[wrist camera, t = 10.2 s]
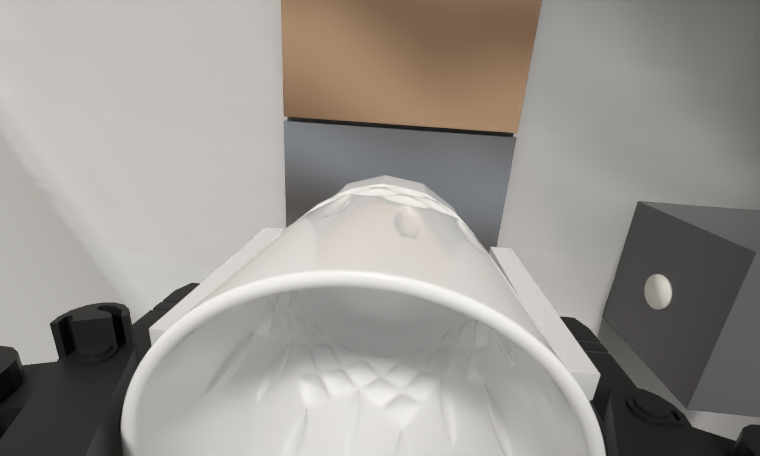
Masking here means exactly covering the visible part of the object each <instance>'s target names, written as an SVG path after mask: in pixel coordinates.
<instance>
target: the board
mask: <svg viewBox="0 0 760 456" xmlns="http://www.w3.org/2000/svg"><path fill="white" fill-rule="evenodd" d="M541 2H542V0H281V11H282V55H283V100H284V116H286V117H300V118H314V119H328V120H342V121H356V122H370V123H384V124H398V125H412V126H426V127H440V128H454V129H468V130H482V131H496V132H510V133H517V132H518V127H519V121H520V116H521V110H522V105H523V100H524V94H525V89H526V83H527V78H528V72H529V67H530V61H531V56H532V51H533V45H534V40H535V34H536V29H537V23H538V18H539V13H540V7H541ZM515 143H516V138H515V137H509V136H495V135H481V134H467V133H453V132H439V131H425V130H411V129H397V128H383V127H370V126H356V125H342V124H328V123H314V122H300V121H284V144H285V189H286V228H287V227H288V226H290V225H291V224H293V223H294V222H295V221H296V220H298V219H299V218H300V217H301V216H303V215H304V214H306V213H307V212H308V211H310V210H311V209H312V208H313V207H315V206H316V205H317V204H319V203H321V202H323V201H325V200H327V199H329V198H331V197H332V196H333V195H334V194H336V193H337V192H338V191H339V190H340V189H342V188H343V187H344V186H345V185H347V184H348V183H352V182H357V181H361V180H365V179H370V178H374V177H379V176H383V175H388V176H392V177H397V178H401V179H405V180H410V181H414V182H419V183H423V184H424V185H426V186H427V187H428V188H429V189H431V190H432V191H433V192H434V193H436V194H437V195H438V196H439V197H441V198H442V199H443V200H444V201H446V202H447V203H448V204H449V205H451V206H452V207H453V208H454V210H455V211H456V213H457V215H458V216H459V217H460V218H461V219H462V220H463V221H464V223H465V224H466V225H467V226H468V227H469V228H470V229H471V231H472V232H473V233H474V235H475V236H476V238H477V239H478V240H479V242H480V243H481V244H482V245H483V247H484V248H485V249H486V250H487V252H488V253H489V252H490V247H496V246H497V241H498V235H499V230H500V224H501V219H502V214H503V208H504V203H505V197H506V192H507V186H508V181H509V176H510V170H511V165H512V159H513V154H514V148H515Z"/></svg>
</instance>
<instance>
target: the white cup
mask: <svg viewBox="0 0 760 456" xmlns="http://www.w3.org/2000/svg"><path fill="white" fill-rule="evenodd" d="M121 448H122V455H123V456H606V452H605V446H604V441H603V437H602V433H601V430H600V426H599V423H598V421H597V418H596V416H595V413H594V411H593V409H592V407H591V404H590V402H589V401H588V399H587V397H586V395H585V393H584V392H583V390H582V388H581V387H580V385H579V384H578V382H577V381H576V379H575V378H574V376H573V375H572V374H571V372H570V371H569V369H568V368H567V366H566V365H565V364H564V362H563V361H562V359H561V358H560V356H559V355H558V354H557V352H556V351H555V349H554V348H553V346H552V345H551V343H550V342H549V341H548V339H547V338H546V336H545V335H544V333H543V332H542V330H541V329H540V328H539V326H538V325H537V323H536V322H535V320H534V319H533V317H532V316H531V314H530V313H529V311H528V310H527V308H526V307H525V306H524V304H523V303H522V301H521V300H520V298H519V297H518V295H517V294H516V292H515V291H514V289H513V288H512V286H511V285H510V283H509V282H508V280H507V279H506V277H505V276H504V274H503V273H502V271H501V270H500V268H499V267H498V266H497V264H496V263H495V261H494V260H493V258H492V257H491V256H490V254H489V253H488V252H487V250H486V249H485V248H484V247H483V245H482V244H481V243H480V242H479V240H478V239H477V238H476V236H475V235H474V233H473V232H472V231H471V229H470V228H469V227H468V226H467V225H466V224H465V223H464V221H463V220H462V219H461V218H460V217H459V216H458V215H457V213H456V211H455V210H454V208H453V207H452V206H451V205H449V204H448V203H447V202H446V201H444V200H443V199H442V198H441V197H439V196H438V195H437V194H436V193H434V192H433V191H432V190H431V189H429V188H428V187H427V186H426V185H424V184H423V183H419V182H414V181H410V180H405V179H401V178H397V177H392V176H388V175H383V176H379V177H374V178H370V179H365V180H361V181H357V182H352V183H348V184H347V185H345V186H344V187H343V188H342V189H340V190H339V191H338V192H337V193H336V194H334V195H333V196H332V197H331V198H329V199H327V200H325V201H323V202H321V203H319V204H317V205H316V206H315V207H313V208H312V209H311V210H310V211H308V212H307V213H306V214H304V215H303V216H301V217H300V218H299V219H298V220H296V221H295V222H294V223H293V224H291V225H290V226H288V227H287V228H286V229H284V230H283V231H282V232H281V233H279V234H278V235H277V236H276V237H275V238H274V239H272V240H271V241H270V242H269V243H268V244H267V245H266V246H265V247H264V248H263V249H261V250H260V251H259V252H258V253H257V254H256V255H255V256H253V257H252V258H251V259H250V260H249V261H248V262H246V263H245V264H244V265H243V266H242V267H241V268H239V269H238V270H237V271H235V272H234V273H233V274H232V275H231V276H229V277H228V278H227V279H226V280H225V281H224V282H222V283H221V284H220V285H219V286H218V287H217V288H215V289H214V290H213V291H212V292H211V293H210V294H208V295H207V296H206V297H205V298H204V299H202V300H201V301H200V302H199V303H198V304H197V305H195V306H194V307H193V308H192V309H191V310H189V311H188V312H187V313H186V314H185V315H183V316H182V317H181V318H180V319H179V320H177V321H176V322H175V323H174V324H173V325H172V326H171V327H169V328H168V329H167V330H166V331H165V332H164V333H163V334H162V335H161V336H160V337H159V338H158V339H157V341H156V342H155V343H154V344H153V345H152V346H151V348H150V349H149V350H148V352H147V353H146V355H145V356H144V357H143V359H142V361H141V362H140V364H139V366H138V367H137V369H136V371H135V373H134V375H133V377H132V379H131V382H130V384H129V387H128V390H127V393H126V396H125V400H124V404H123V409H122V416H121Z"/></svg>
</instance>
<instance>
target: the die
mask: <svg viewBox="0 0 760 456" xmlns="http://www.w3.org/2000/svg"><path fill="white" fill-rule="evenodd" d="M603 317H604V318H605V319H606V320H607V321H608V322H609V324H610V325H611V326H612V327H613V328H614V329H615V330H616V331H617V332H618V334H619V335H620V336H621V337H622V338H623V339H624V340H625V341H626V342H627V344H628V345H629V346H630V347H631V348H632V349H633V350H634V351H635V352H636V354H637V355H638V356H639V357H640V358H641V359H642V360H643V361H644V362H645V363H646V365H647V366H648V367H649V368H650V369H651V370H652V371H653V372H654V373H655V375H656V376H657V377H658V378H659V379H660V380H661V381H662V382H663V383H664V385H665V386H666V387H667V388H668V389H669V390H670V391H671V392H672V393H673V395H674V396H675V397H676V398H677V399H678V400H679V401H680V402H681V403H682V405H683V406H684V407H685V408H686V409H689V410H698V411H707V412H716V413H726V414H735V415H744V416H754V417H760V211H756V210H744V209H731V208H719V207H706V206H694V205H681V204H669V203H656V202H643V201H638V204H637V207H636V210H635V213H634V216H633V220H632V223H631V226H630V229H629V233H628V236H627V239H626V242H625V245H624V249H623V252H622V255H621V258H620V262H619V265H618V268H617V271H616V274H615V278H614V281H613V284H612V287H611V291H610V294H609V297H608V300H607V303H606V307H605V310H604V313H603Z"/></svg>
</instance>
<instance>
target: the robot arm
mask: <svg viewBox="0 0 760 456" xmlns="http://www.w3.org/2000/svg"><path fill="white" fill-rule="evenodd" d="M283 230H284V229H279V228H268V227H265V228H264V229H263V230H262V231H261V232H260V233H258V234H257V235H256V236H255V237H254V238H253V239H252V240H250V241H249V242H248V243H247V244H246V245H245V246H243V247H242V248H241V249H240V250H239V251H238V252H237V253H235V254H234V255H233V256H232V257H231V258H230V259H228V260H227V261H226V262H225V263H224V264H223V265H222V266H220V267H219V268H218V269H217V270H216V271H215V272H213V273H212V274H211V275H210V276H209V277H208V278H207V279H205V280H204V281H203V282H202V283H201V284H199V283H191V284H188V285H186V286H184V287H182V288H180V289H177V290H175V291H174V292H173V293H171V294H170V295H169V296H168V297H166V298H165V299H164V300H163V302H160V303H159V304H158V305H157V306H155V307H154V308H153V310H150V311H149V312H148V313H147V314H145V315H144V316H143V317H142V318H140V319H139V320H138V321H137V322H135V323H134V324H133V325H132V323H131V317H130V312H129V309H128V308H127V307H126V306H125V305H123V304H119V303H98V304H92V305H86V306H83V307H80V308H77V309H74V310H71V311H69V312H67V313H65V314H63V315H61V316H59V317H58V318H56V319H55V320H54V321H52V322H51V323H50V326H51V330H52V334H53V337H54V341H55V344H56V348H57V352H58V356H59V359H58V361H57V362H49V363H40V364H31V365H22V364H21V361H20V358H19V354H18V352H17V351H16V350H15V349H14V348H12V347H5V346H0V456H123V455H122V448H121V416H122V409H123V404H124V400H125V396H126V393H127V390H128V387H129V384H130V382H131V379H132V377H133V375H134V373H135V371H136V369H137V367H138V366H139V364H140V362H141V361H142V359H143V357H144V356H145V355H146V353H147V352H148V350H149V349H150V348H151V346H152V345H153V344H154V343H155V342H156V341H157V339H158V338H159V337H160V336H161V335H162V334H163V333H164V332H165V331H166V330H167V329H168V328H169V327H171V326H172V325H173V324H174V323H175V322H176V321H177V320H179V319H180V318H181V317H182V316H183V315H185V314H186V313H187V312H188V311H189V310H191V309H192V308H193V307H194V306H195V305H197V304H198V303H199V302H200V301H201V300H202V299H204V298H205V297H206V296H207V295H208V294H210V293H211V292H212V291H213V290H214V289H215V288H217V287H218V286H219V285H220V284H221V283H222V282H224V281H225V280H226V279H227V278H228V277H229V276H231V275H232V274H233V273H234V272H235V271H237V270H238V269H239V268H241V267H242V266H243V265H244V264H245V263H246V262H248V261H249V260H250V259H251V258H252V257H253V256H255V255H256V254H257V253H258V252H259V251H260V250H261V249H263V248H264V247H265V246H266V245H267V244H268V243H269V242H270V241H271V240H272V239H274V238H275V237H276V236H277V235H278V234H279V233H281V232H282V231H283ZM489 254H490V256H491V257H492V258H493V260H494V261H495V263H496V264H497V266H498V267H499V268H500V270H501V271H502V273H503V274H504V276H505V277H506V279H507V280H508V282H509V283H510V285H511V286H512V288H513V289H514V291H515V292H516V294H517V295H518V297H519V298H520V300H521V301H522V303H523V304H524V306H525V307H526V308H527V310H528V311H529V313H530V314H531V316H532V317H533V319H534V320H535V322H536V323H537V325H538V326H539V328H540V329H541V330H542V332H543V333H544V335H545V336H546V338H547V339H548V341H549V342H550V343H551V345H552V346H553V348H554V349H555V351H556V352H557V354H558V355H559V356H560V358H561V359H562V361H563V362H564V364H565V365H566V366H567V368H568V369H569V371H570V372H571V374H572V375H573V376H574V378H575V379H576V381H577V382H578V384H579V385H580V387H581V388H582V390H583V392H584V393H585V395H586V397H587V399H588V401H589V402H590V404H591V407H592V409H593V411H594V413H595V416H596V418H597V421H598V423H599V426H600V430H601V433H602V437H603V441H604V446H605V452H606V456H760V425H749V426H746V427H744V428H743V429H742V431H741V433H740V435H739V437H738V439H737V441H734V440H731V439H727V438H724V437H721V436H718V435H715V434H712V433H709V432H706V431H702V430H699V429H696V428H694V427H692V426H691V424H690V423H689V421H688V420H687V418H686V417H685V415H684V414H683V413H682V412H681V411H679V410H678V409H677V408H676V407H675V406H674V405H673V404H671V403H669V402H668V401H666V400H665V399H663V398H661V397H660V396H658V395H655V394H653V393H651V392H648V391H646V390H643V389H639V388H637V387H636V386H635V385H634V383H633V382H632V381H631V380H630V378H629V377H628V376H627V375H626V373H625V372H624V371H623V370H622V368H621V367H620V366H619V365H618V364H617V362H616V361H615V360H614V359H613V357H612V356H611V355H610V354H608V351H607V350H606V349H605V347H604V346H603V345H602V344H600V341H599V340H598V339H597V337H596V336H595V335H594V334H593V332H592V331H591V330H590V329H589V328H588V327H586V326H585V325H583V324H582V323H581V322H579V321H578V320H576V319H575V318H570V317H560V316H559V315H558V314H557V312H556V311H555V310H554V308H553V307H552V305H551V304H550V303H549V301H548V300H547V298H546V297H545V295H544V294H543V293H542V291H541V290H540V288H539V287H538V286H537V284H536V283H535V281H534V280H533V279H532V277H531V276H530V274H529V273H528V271H527V270H526V269H525V267H524V266H523V264H522V263H521V262H520V260H519V259H518V257H517V256H516V255H515V253H514V252H513V250H512V249H510V248H499V247H490V252H489Z"/></svg>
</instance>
